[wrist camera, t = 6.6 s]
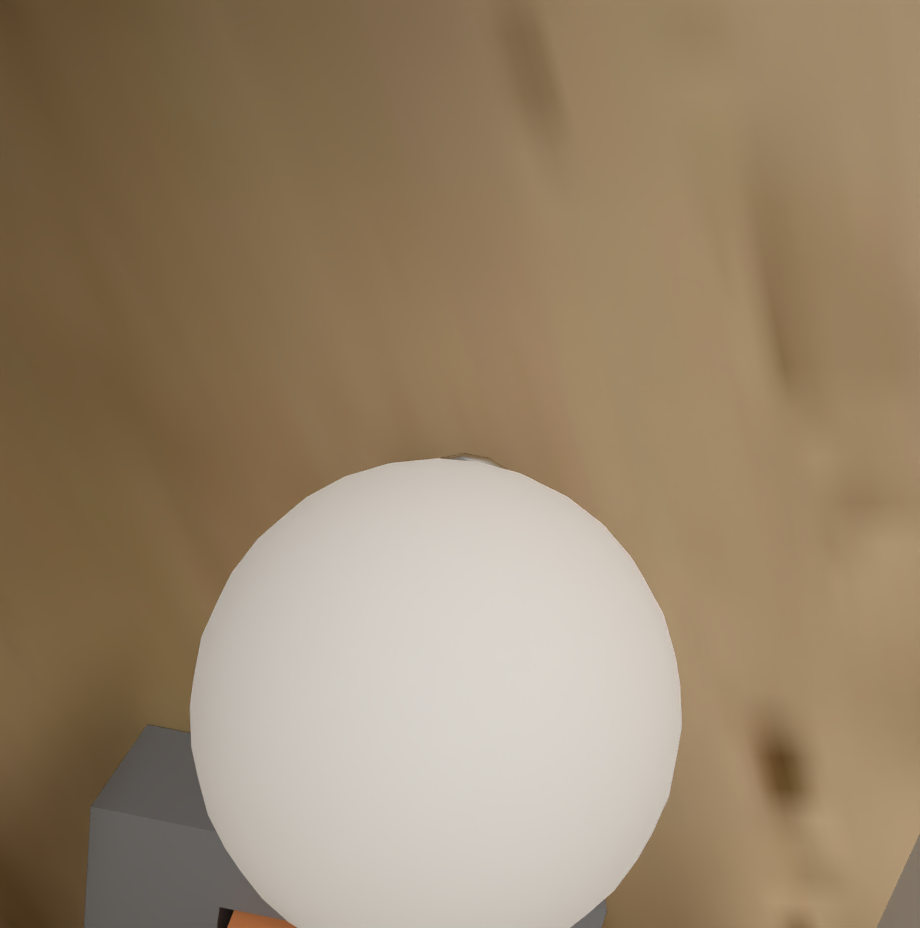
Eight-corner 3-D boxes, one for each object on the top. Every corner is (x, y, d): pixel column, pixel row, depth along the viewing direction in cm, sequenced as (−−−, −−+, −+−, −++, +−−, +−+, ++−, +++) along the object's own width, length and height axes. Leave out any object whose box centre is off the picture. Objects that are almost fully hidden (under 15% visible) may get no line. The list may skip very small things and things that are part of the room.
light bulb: (275, 426, 18) (-37, 725, 8) (546, 309, 17) (600, 480, 7) (399, 662, 20) (276, 1163, 10) (653, 571, 19) (825, 1030, 8)
